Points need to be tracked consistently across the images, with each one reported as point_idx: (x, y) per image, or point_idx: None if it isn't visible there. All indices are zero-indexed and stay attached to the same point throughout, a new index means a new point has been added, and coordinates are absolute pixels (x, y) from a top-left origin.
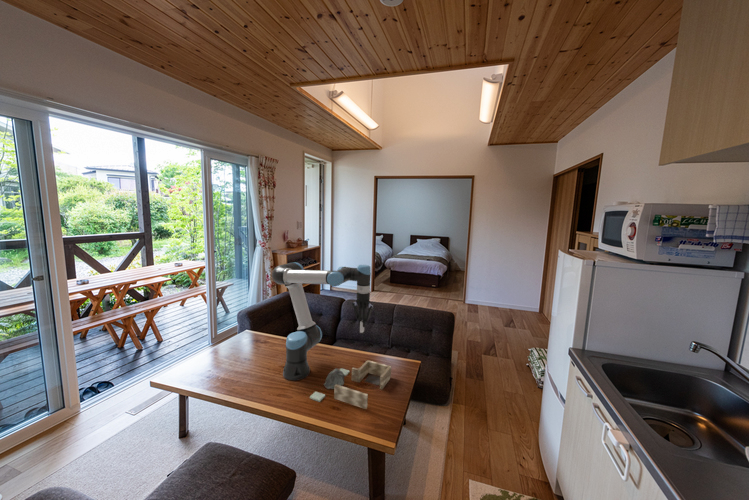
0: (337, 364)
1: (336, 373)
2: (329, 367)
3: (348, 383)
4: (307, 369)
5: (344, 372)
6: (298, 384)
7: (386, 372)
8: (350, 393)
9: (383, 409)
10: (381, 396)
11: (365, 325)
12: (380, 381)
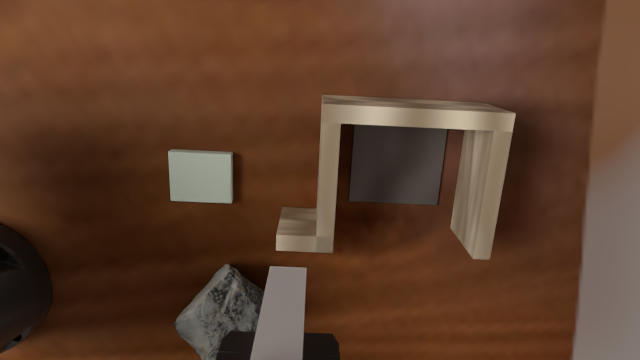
0: (114, 101)
1: None
2: (94, 154)
3: None
4: (24, 293)
5: (213, 185)
6: (67, 349)
7: (499, 201)
8: None
9: (503, 349)
10: (474, 278)
11: (338, 355)
12: (465, 245)
